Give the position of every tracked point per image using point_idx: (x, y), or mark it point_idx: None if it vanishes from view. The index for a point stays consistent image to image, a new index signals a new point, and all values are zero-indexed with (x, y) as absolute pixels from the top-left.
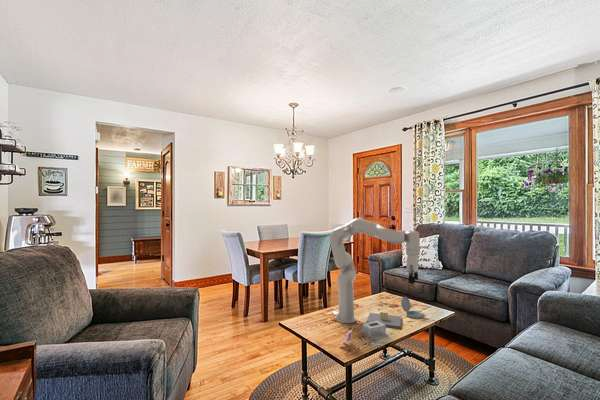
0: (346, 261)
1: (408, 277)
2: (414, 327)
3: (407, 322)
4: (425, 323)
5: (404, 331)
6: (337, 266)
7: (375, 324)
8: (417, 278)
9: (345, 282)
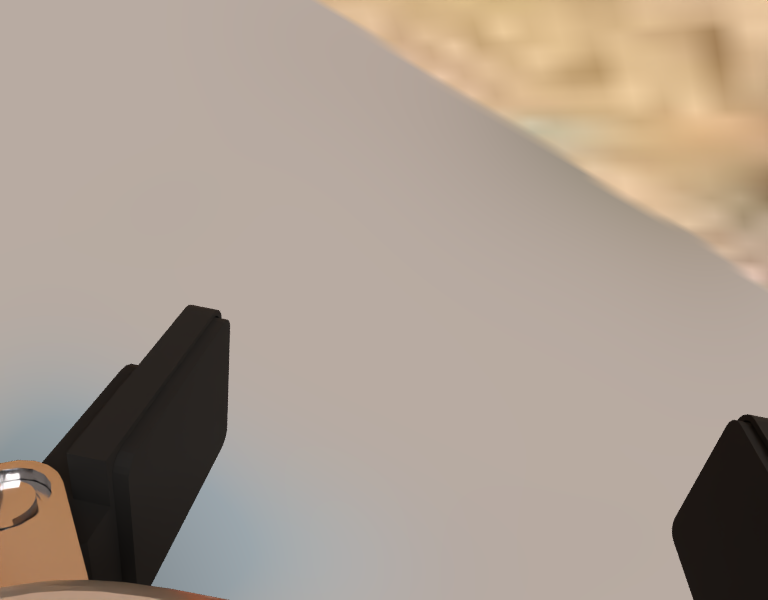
0: None
1: (103, 412)
2: (542, 105)
3: (670, 24)
4: (676, 208)
5: (407, 8)
6: None
7: None
8: (680, 560)
9: None
